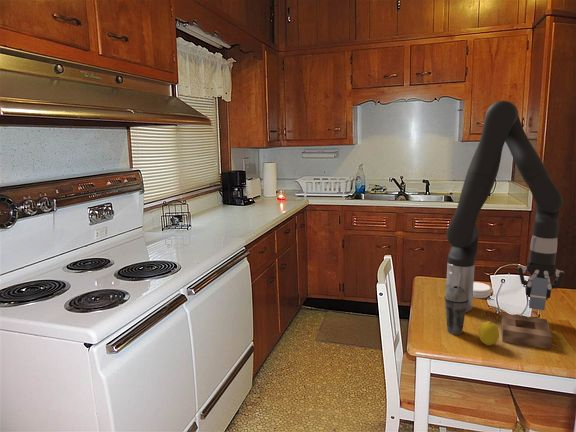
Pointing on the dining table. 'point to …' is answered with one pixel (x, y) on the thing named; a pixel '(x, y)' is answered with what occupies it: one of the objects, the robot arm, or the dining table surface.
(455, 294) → the beverage cup
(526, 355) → the dining table surface
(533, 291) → the peg
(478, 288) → the white shallow cylinder
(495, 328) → the lemon
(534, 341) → the board
